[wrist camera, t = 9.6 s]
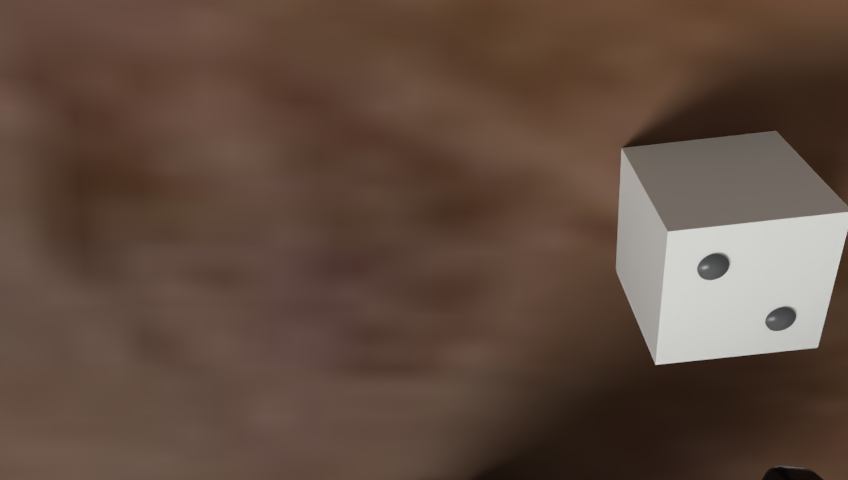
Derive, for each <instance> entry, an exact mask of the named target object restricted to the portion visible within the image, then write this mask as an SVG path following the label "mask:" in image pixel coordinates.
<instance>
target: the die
mask: <svg viewBox="0 0 848 480" xmlns="http://www.w3.org/2000/svg"><path fill="white" fill-rule="evenodd" d="M847 231H848V206H847V205H846V204H845V203H844V202H843V201H842V200H841V199H840V198H839V197H838V196H837V194H836V193H835V192H834V191H833V190H832V189H831V188H830V187H829V186H828V185H827V184H826V183H825V182H824V181H823V180H822V179H821V178H820V177H819V176H818V174H817V173H816V172H815V171H814V170H813V169H812V168H811V167H810V166H809V165H808V164H807V163H806V162H805V161H804V160H803V159H802V158H801V157H800V155H799V154H798V153H797V152H796V151H795V150H794V149H793V148H792V147H791V146H790V145H789V144H788V143H787V142H786V141H785V140H784V139H783V138H782V137H781V135H780V134H779V133H778V132H777V131H769V132H760V133H751V134H742V135H734V136H725V137H716V138H707V139H698V140H689V141H680V142H671V143H662V144H653V145H644V146H635V147H626V148H622V151H621V172H620V193H619V214H618V234H617V255H616V272H617V275H618V277H619V279H620V282H621V284H622V287H623V289H624V291H625V294H626V296H627V298H628V301H629V303H630V306H631V308H632V310H633V313H634V315H635V318H636V320H637V322H638V325H639V327H640V329H641V332H642V334H643V337H644V339H645V341H646V344H647V346H648V349H649V351H650V353H651V356H652V358H653V360H654V363H655V365H660V364H669V363H679V362H688V361H698V360H707V359H716V358H726V357H735V356H745V355H754V354H764V353H773V352H783V351H792V350H801V349H811V348H818V345H819V341H820V337H821V334H822V330H823V326H824V322H825V318H826V314H827V310H828V306H829V302H830V298H831V294H832V290H833V286H834V282H835V278H836V274H837V270H838V266H839V263H840V259H841V255H842V251H843V247H844V243H845V239H846V235H847Z"/></svg>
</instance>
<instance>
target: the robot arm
mask: <svg viewBox="0 0 848 480" xmlns="http://www.w3.org/2000/svg"><path fill="white" fill-rule="evenodd" d="M762 480H823V479H822V478H821V477H820V476H819V475H817V474H816V473H815V472H813V471H812V470H810V469H807V468H803V467H792V466H774V467H772V468H770V469H769V470H768V471H767V472H766V474H765V476H764V477H763V479H762Z"/></svg>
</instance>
